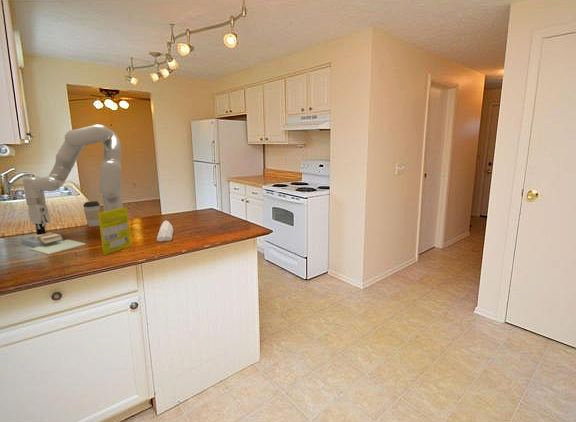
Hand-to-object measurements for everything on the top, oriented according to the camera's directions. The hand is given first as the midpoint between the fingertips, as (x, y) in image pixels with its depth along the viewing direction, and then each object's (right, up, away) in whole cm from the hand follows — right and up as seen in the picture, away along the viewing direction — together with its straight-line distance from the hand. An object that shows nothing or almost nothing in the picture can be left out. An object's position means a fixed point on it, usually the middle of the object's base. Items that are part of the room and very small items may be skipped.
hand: (41, 236), depth 159 cm
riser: (0, -3, +1) cm, 4 cm away
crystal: (+59, -1, +13) cm, 60 cm away
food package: (+46, -6, -11) cm, 47 cm away
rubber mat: (+13, -5, -6) cm, 15 cm away
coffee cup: (+3, +4, +38) cm, 38 cm away
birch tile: (+6, -2, -3) cm, 7 cm away
